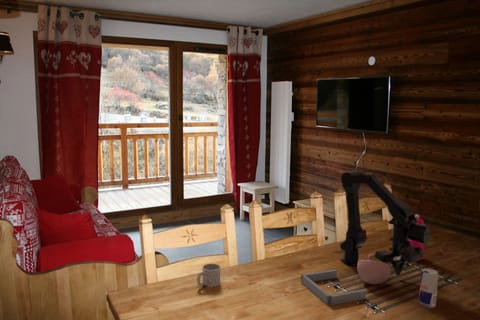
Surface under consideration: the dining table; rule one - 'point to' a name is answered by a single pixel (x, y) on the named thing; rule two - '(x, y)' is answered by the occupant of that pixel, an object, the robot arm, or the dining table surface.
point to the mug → (210, 275)
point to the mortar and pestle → (373, 270)
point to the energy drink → (428, 287)
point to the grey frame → (324, 296)
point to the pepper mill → (415, 243)
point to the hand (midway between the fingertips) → (397, 275)
